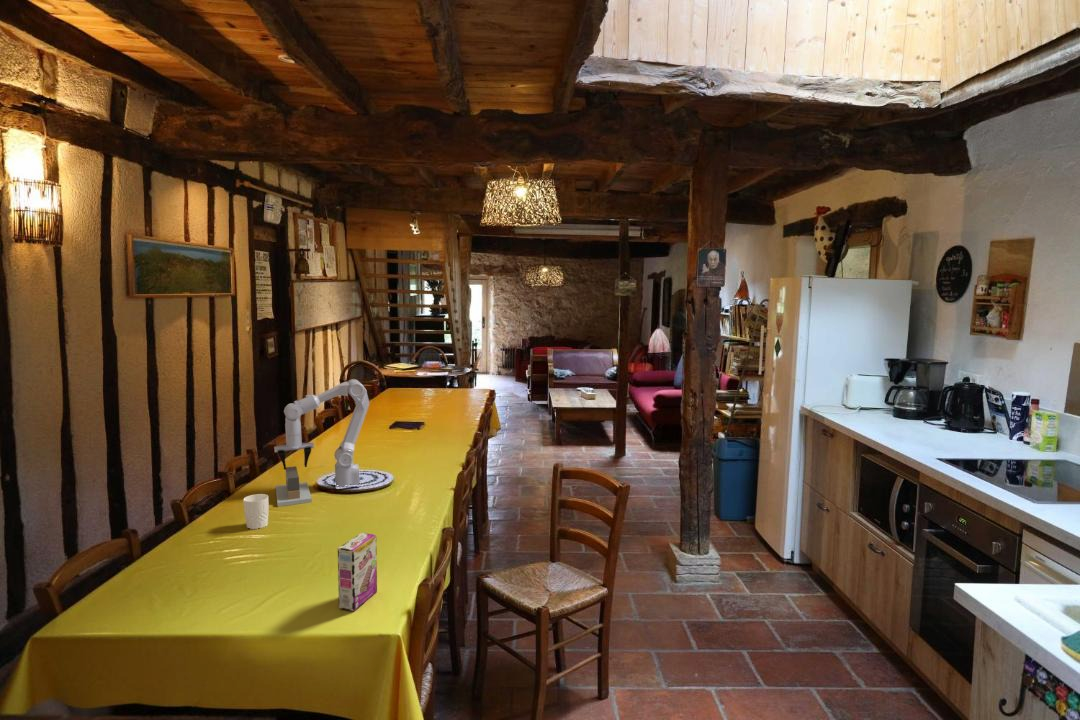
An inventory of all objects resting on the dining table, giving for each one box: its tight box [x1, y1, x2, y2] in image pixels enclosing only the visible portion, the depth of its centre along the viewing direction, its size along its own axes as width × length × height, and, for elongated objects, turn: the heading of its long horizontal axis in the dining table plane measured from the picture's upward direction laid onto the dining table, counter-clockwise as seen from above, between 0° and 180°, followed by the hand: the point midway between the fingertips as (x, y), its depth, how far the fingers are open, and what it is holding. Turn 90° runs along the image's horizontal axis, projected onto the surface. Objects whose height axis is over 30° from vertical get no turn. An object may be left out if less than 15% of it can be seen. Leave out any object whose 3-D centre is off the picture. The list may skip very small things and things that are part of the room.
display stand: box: [275, 481, 313, 507], centre depth 246 cm, size 12×22×4 cm, turn 25°
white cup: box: [242, 493, 270, 530], centre depth 215 cm, size 8×8×10 cm
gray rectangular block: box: [285, 465, 300, 491], centre depth 245 cm, size 4×16×5 cm, turn 25°
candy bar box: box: [337, 532, 378, 612], centre depth 164 cm, size 11×5×16 cm, turn 163°
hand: (295, 467), depth 248 cm, fingers open, 7 cm apart
